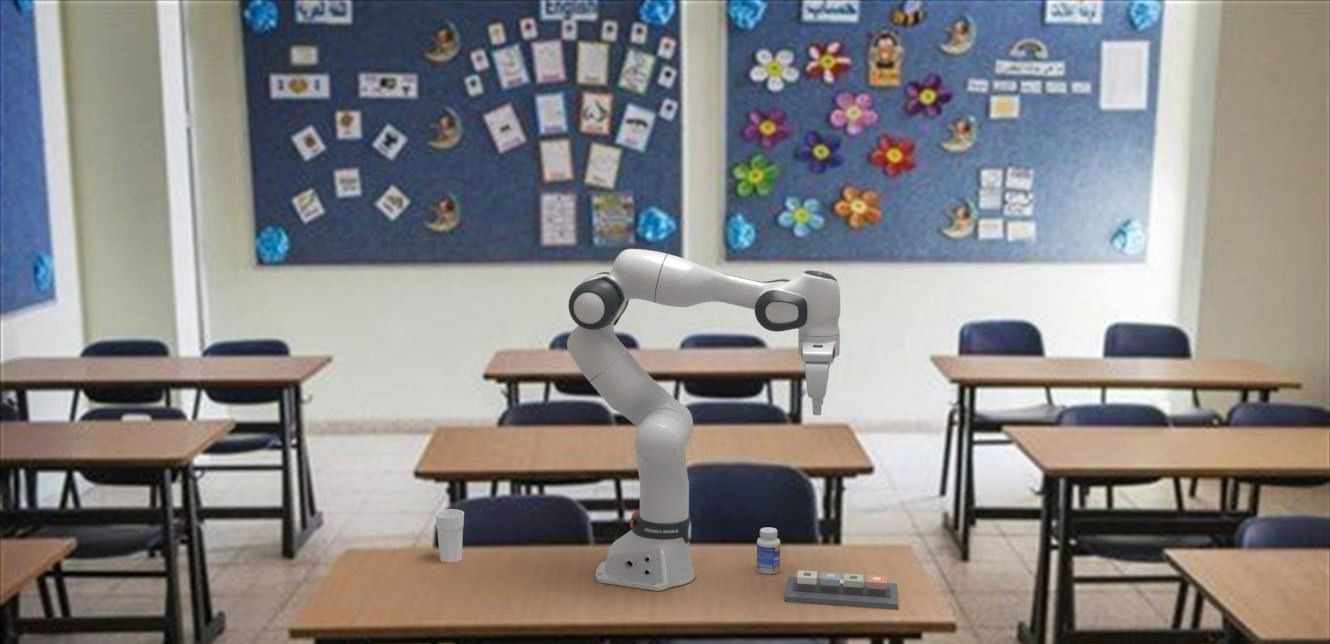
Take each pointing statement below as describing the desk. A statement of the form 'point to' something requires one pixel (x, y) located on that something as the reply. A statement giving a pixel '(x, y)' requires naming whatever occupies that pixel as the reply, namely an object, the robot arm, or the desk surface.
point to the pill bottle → (768, 551)
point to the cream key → (807, 577)
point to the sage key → (853, 580)
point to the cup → (450, 534)
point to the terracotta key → (876, 582)
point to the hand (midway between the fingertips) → (818, 409)
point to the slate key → (830, 579)
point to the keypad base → (841, 594)
